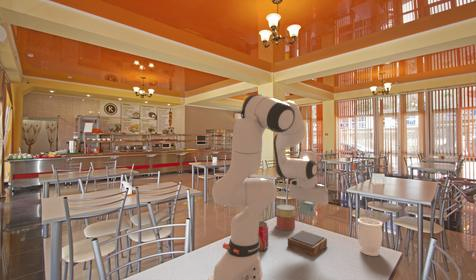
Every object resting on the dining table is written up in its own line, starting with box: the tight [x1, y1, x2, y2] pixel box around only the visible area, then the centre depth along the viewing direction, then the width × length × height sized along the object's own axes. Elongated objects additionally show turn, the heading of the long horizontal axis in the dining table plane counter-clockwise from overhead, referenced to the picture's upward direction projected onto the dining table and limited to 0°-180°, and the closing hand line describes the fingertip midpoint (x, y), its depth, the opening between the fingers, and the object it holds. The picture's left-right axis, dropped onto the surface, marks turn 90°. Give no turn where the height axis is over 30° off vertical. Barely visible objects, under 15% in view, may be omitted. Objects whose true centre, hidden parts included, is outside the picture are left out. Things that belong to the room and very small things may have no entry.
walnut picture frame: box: [287, 229, 328, 257], centre depth 114 cm, size 14×14×4 cm
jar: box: [356, 217, 383, 257], centre depth 109 cm, size 11×10×15 cm
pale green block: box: [299, 201, 316, 216], centre depth 114 cm, size 4×7×5 cm, turn 134°
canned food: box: [276, 204, 296, 231], centre depth 140 cm, size 11×11×12 cm
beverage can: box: [258, 220, 269, 251], centre depth 113 cm, size 8×8×12 cm
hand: (307, 209), depth 114 cm, fingers closed on pale green block, 4 cm apart
